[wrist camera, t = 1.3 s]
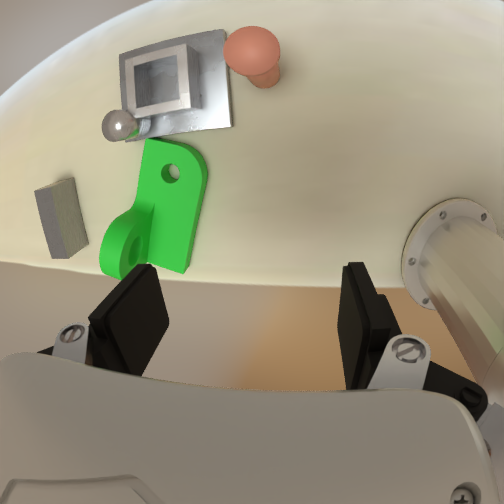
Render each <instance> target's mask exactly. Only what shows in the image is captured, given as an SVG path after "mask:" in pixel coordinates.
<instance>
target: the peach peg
mask: <svg viewBox="0 0 504 504" xmlns="http://www.w3.org/2000/svg"><path fill="white" fill-rule="evenodd" d="M223 55H224V59H225V61H226V63H227V64H228V66H229V67H230V68H231V69H233V70H234V71H235V72H237V73H239V74H241V75H244V76H246V77H247V78H248V79H249V80H250V81H251V82H252V84H254V85H255V86H256V87H259V88H270V87H272V86H274V85H275V84H276V83H277V82H278V80H279V77H280V72H279V67H278V60H279V58H280V46H279V42H278V40H277V38H276V37H275V36H274V35H273V34H272V33H271V32H270V31H268V30H267V29H264V28H261V27H257V26H248V27H243V28H240V29H238V30H236V31H235V32H233V33H232V34H231V35H230V36H229V37H228V38H227V40H226V42H225V44H224V47H223Z"/></svg>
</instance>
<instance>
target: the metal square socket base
mask: <svg viewBox="0 0 504 504" xmlns="http://www.w3.org/2000/svg"><path fill="white" fill-rule="evenodd" d="M225 42H226V33H225V31H224V30H223V29H219V30H213V31H207V32H202V33H197V34H192V35H187V36H182V37H178V38H174V39H170V40H166V41H162V42H158V43H155V44H151V45H148V46H144V47H141V48H138V49H134V50H131V51H128V52H125V53H122V54H120V55H119V68H120V88H121V102H122V110H113V111H110V112H109V113H108V114H107V115H106V116H105V117H104V119H103V122H102V132H103V135H104V137H105V138H106V139H107V140H109V141H111V142H116V141H122V140H125V142H131V141H136V140H141V139H146V138H152V137H157V136H163V135H169V134H176V133H182V132H189V131H197V130H205V129H214V128H223V127H233V120H232V108H231V95H230V82H229V69H228V64H227V63H226V61H225V59H224V55H223V47H224V44H225Z"/></svg>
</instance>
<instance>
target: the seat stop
mask: <svg viewBox="0 0 504 504" xmlns="http://www.w3.org/2000/svg"><path fill="white" fill-rule="evenodd" d="M34 192H35V197H36V202H37V206H38V210H39V214H40V219H41V222H42V226H43V230H44V234H45V237H46V241H47V244H48V247H49V251H50V254H51V257H52V259H69V258H70V257H72V256H73V255H74V254H76V253H77V252H78V251H80V250H81V249H82V248H84V247H85V246H86V245H88V244H89V243H88V240H87V236H86V232H85V228H84V224H83V220H82V215H81V211H80V206H79V202H78V197H77V192H76V187H75V181H74V178H71V179H67V180H62V181H58V182H55V183H53V184H50V185H47V186H45V187H42V188H40V189H38V190H35V191H34Z"/></svg>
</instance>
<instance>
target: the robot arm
mask: <svg viewBox="0 0 504 504" xmlns="http://www.w3.org/2000/svg"><path fill="white" fill-rule="evenodd" d="M440 212H441V213H440ZM402 277H403V282H404V284H405V287H406V289H407V291H408V292H409V294H410V296H411V297H412V298H413V299H414V301H415V302H416V303H417V304H419V305H420V306H422V307H424V308H427V309H430V310H437V311H438V313H439V314H440V316H441V318H442V320H443V321H444V323H445V325H446V326H447V328H448V330H449V331H450V333H451V335H452V337H453V339H454V340H455V342H456V344H457V346H458V347H459V349H460V351H461V353H462V355H463V357H464V359H465V360H466V363H467V365H468V367H469V368H470V370H471V372H472V375H473V377H474V379H475V381H476V383H477V384H476V383H474V382H472V381H470V380H468V379H466V378H464V377H462V376H460V375H458V374H456V373H454V372H452V371H450V370H448V369H446V368H444V367H442V366H440V365H438V364H436V363H434V362H432V361H430V356H431V350H430V347H429V345H428V344H427V343H426V342H425V341H424V340H423V339H421V338H420V337H417V336H414V335H409V334H402V332H401V330H400V328H399V325H398V323H397V321H396V318H395V316H394V314H393V311H392V309H391V307H390V305H389V302H388V300H387V298H386V296H385V295H384V294H377V292H376V290H375V287H374V285H373V283H372V281H371V278H370V276H369V274H368V272H367V269H366V267H365V265H364V263H363V262H349V263H348V266H343V273H342V285H341V296H340V305H339V315H338V324H337V326H338V327H337V328H338V336H339V342H340V348H341V355H342V362H343V368H344V376H345V382H346V390H336V391H272V390H249V389H236V388H235V389H234V388H223V387H212V386H203V385H194V384H186V383H179V382H172V381H165V380H158V379H153V378H147V377H141V376H142V374H143V372H144V370H145V369H146V367H147V365H148V363H149V361H150V359H151V357H152V356H153V354H154V352H155V350H156V348H157V346H158V345H159V343H160V341H161V339H162V337H163V335H164V333H165V332H166V330H167V328H168V326H169V317H168V313H167V310H166V306H165V302H164V298H163V295H162V291H161V287H160V283H159V279H158V275H157V271H156V268H155V267H153V266H152V265H151V264H137V265H136V266H135V267H134V268H133V269H132V270H131V271H130V272H129V273H128V274H127V275H126V276H125V277H124V278H123V279H122V281H121V282H120V283H119V284H118V285H117V286H116V287H115V288H114V289H113V290H112V291H111V292H110V293H109V295H108V296H107V297H106V298H105V299H104V300H103V301H102V302H101V303H100V304H99V305H98V307H97V308H96V309H95V310H94V311H93V312H92V313H91V314H90V316H89V317H88V319H89V321H90V325H89V326H87V325H86V324H85V323H81V322H77V323H72V324H69V325H67V326H65V327H64V328H63V329H61V330H60V332H59V333H58V335H57V337H56V341H55V345H54V346H52V347H50V348H47V349H44V350H42V351H39V352H37V353H31V352H23V353H15V354H11V355H8V356H6V357H4V358H3V359H2V360H0V504H504V239H502V238H501V237H500V236H498V234H497V228H496V225H495V223H494V220H493V218H492V217H491V215H490V214H489V212H488V211H487V210H486V209H485V208H483V207H482V206H481V205H479V204H477V203H476V202H474V201H471V200H468V199H460V198H457V199H451V200H447V201H445V202H442V203H440V204H438V205H436V206H435V207H433V208H432V209H430V210H429V211H428V212H427V213H426V214H425V215H424V216H423V217H422V218H421V219H420V220H419V222H418V223H417V224H416V226H415V227H414V228H413V230H412V232H411V234H410V236H409V237H408V240H407V243H406V245H405V248H404V252H403V257H402Z"/></svg>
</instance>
